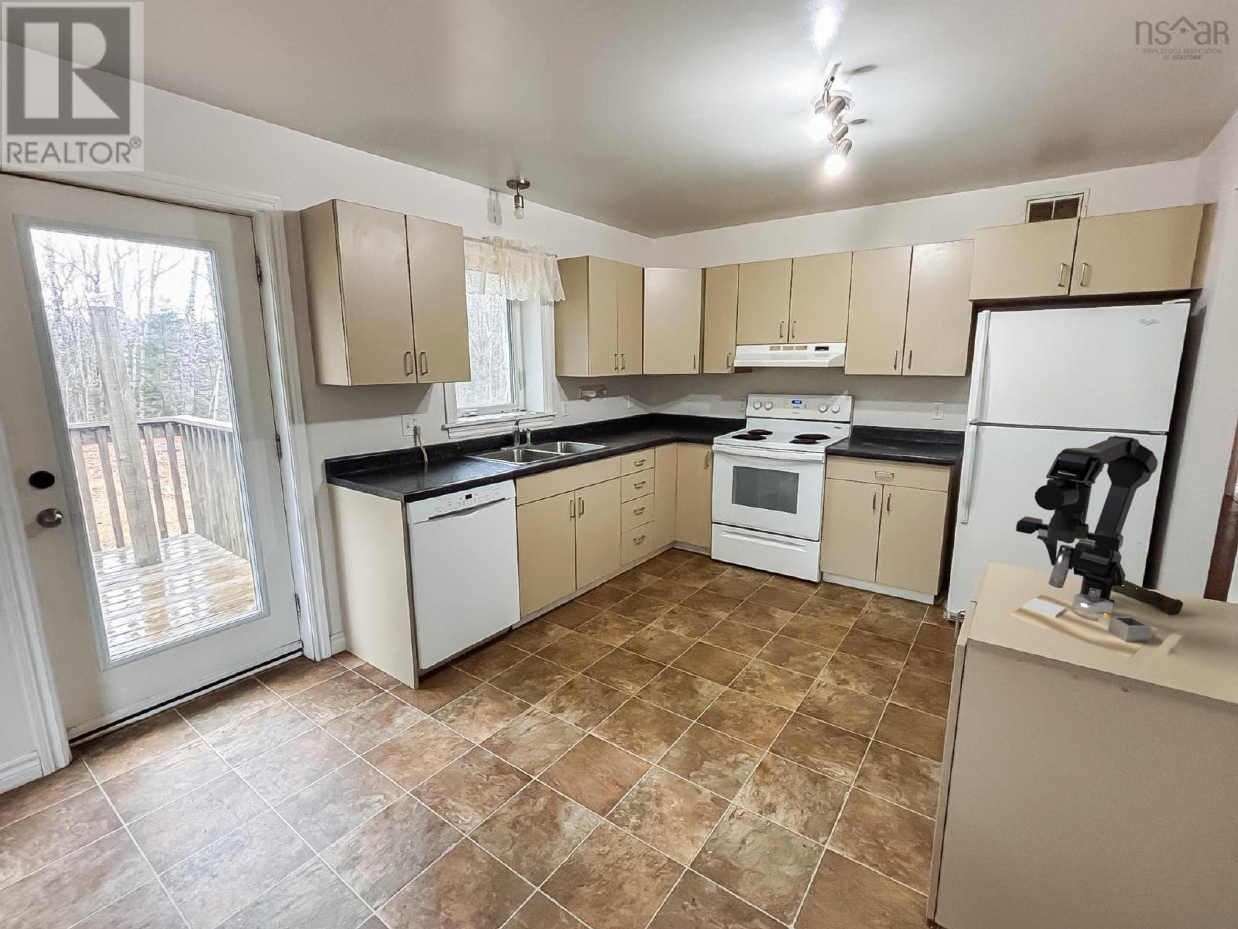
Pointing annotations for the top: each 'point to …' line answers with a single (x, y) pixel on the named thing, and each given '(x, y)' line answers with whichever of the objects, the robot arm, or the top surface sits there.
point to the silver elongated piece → (1109, 617)
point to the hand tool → (1150, 597)
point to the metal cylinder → (1061, 566)
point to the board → (1078, 627)
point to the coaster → (1044, 607)
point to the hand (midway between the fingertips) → (1061, 567)
